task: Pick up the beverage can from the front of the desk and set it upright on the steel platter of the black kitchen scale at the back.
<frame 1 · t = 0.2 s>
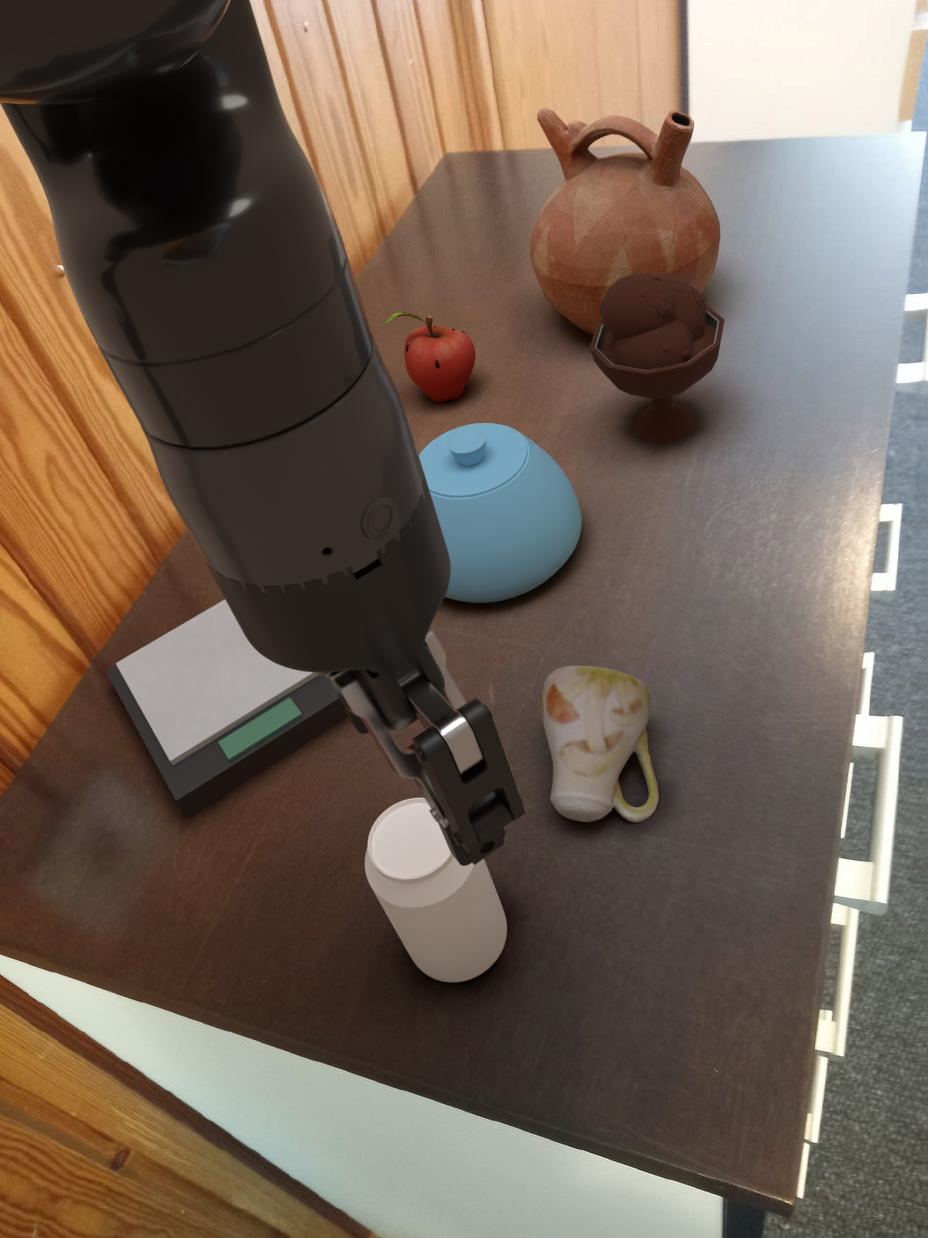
hand: (426, 780, 44), 22 cm above the table, tool pointing down, fingers open, 8 cm apart
ice cream bowl: (664, 427, 92), on the table
apple: (446, 396, 102), on the table
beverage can: (460, 940, 63), on the table
sugar bowl: (495, 550, 86), on the table
scale: (237, 697, 80), on the table
jug: (630, 312, 106), on the table
mug: (600, 772, 69), on the table
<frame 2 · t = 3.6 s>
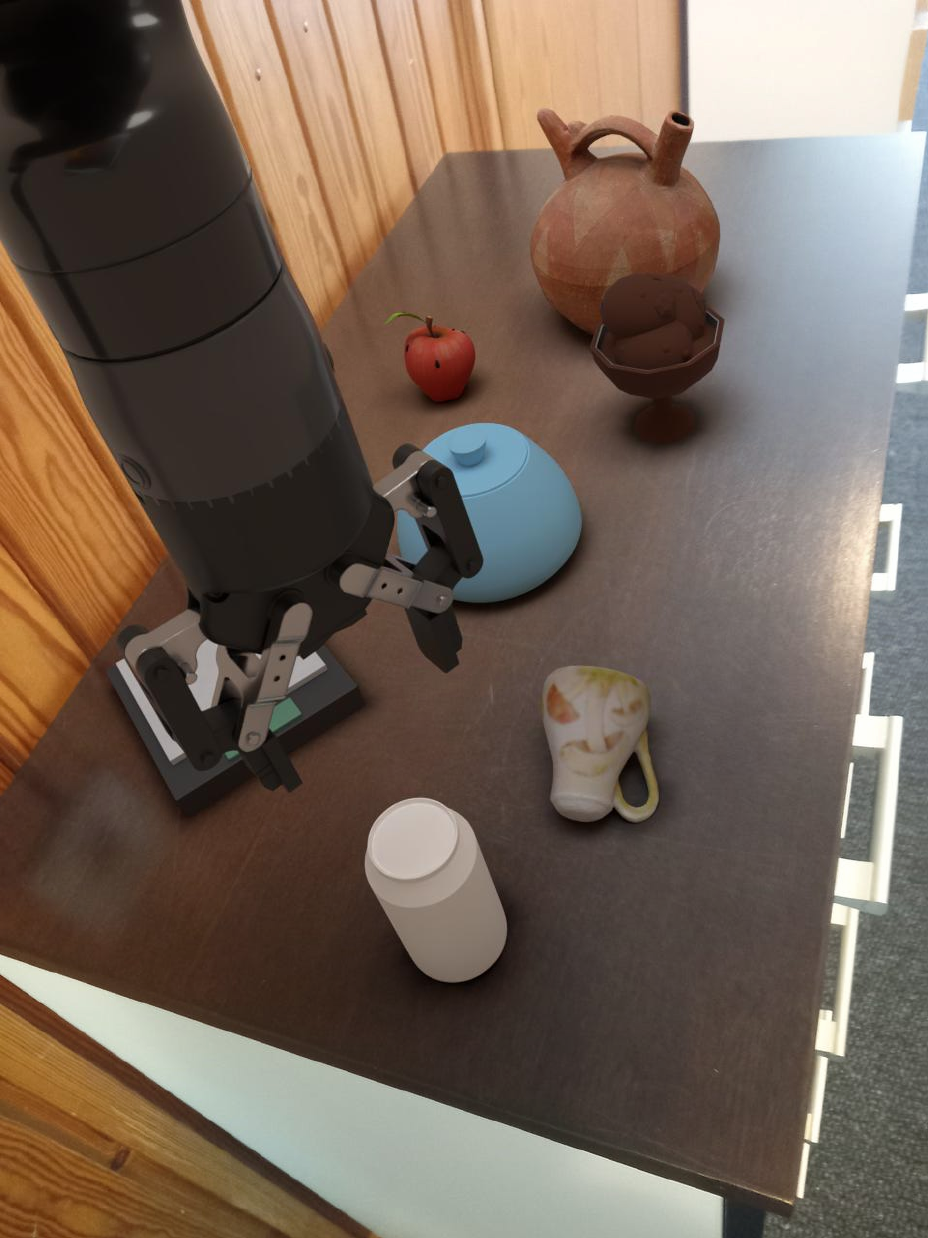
hand: (365, 717, 45), 24 cm above the table, tool pointing down, fingers open, 8 cm apart
nothing on the table moved.
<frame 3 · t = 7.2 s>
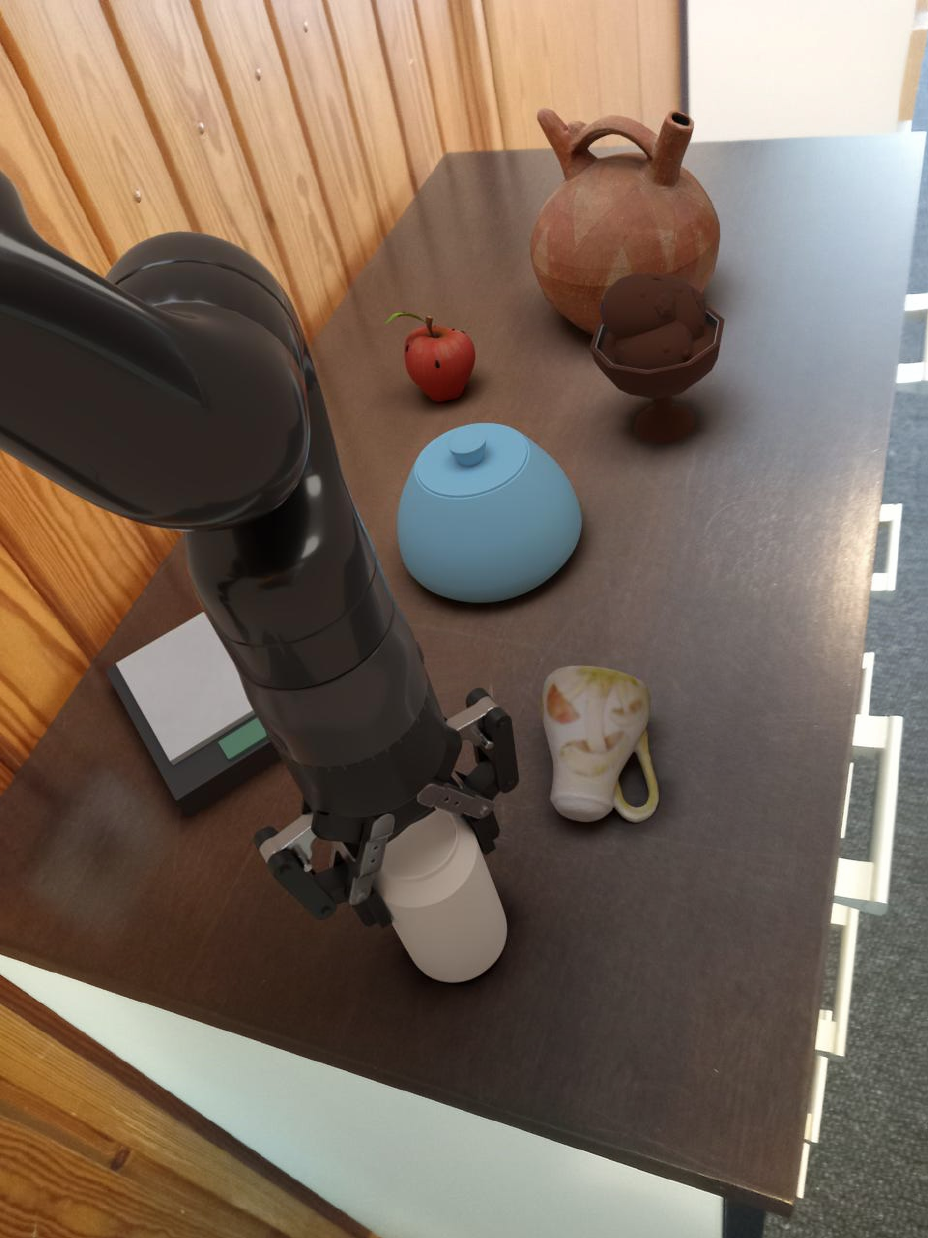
hand: (430, 877, 57), 8 cm above the table, tool pointing down, fingers closed on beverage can, 6 cm apart
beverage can: (460, 940, 63), on the table, touching gripper
everything else where it was.
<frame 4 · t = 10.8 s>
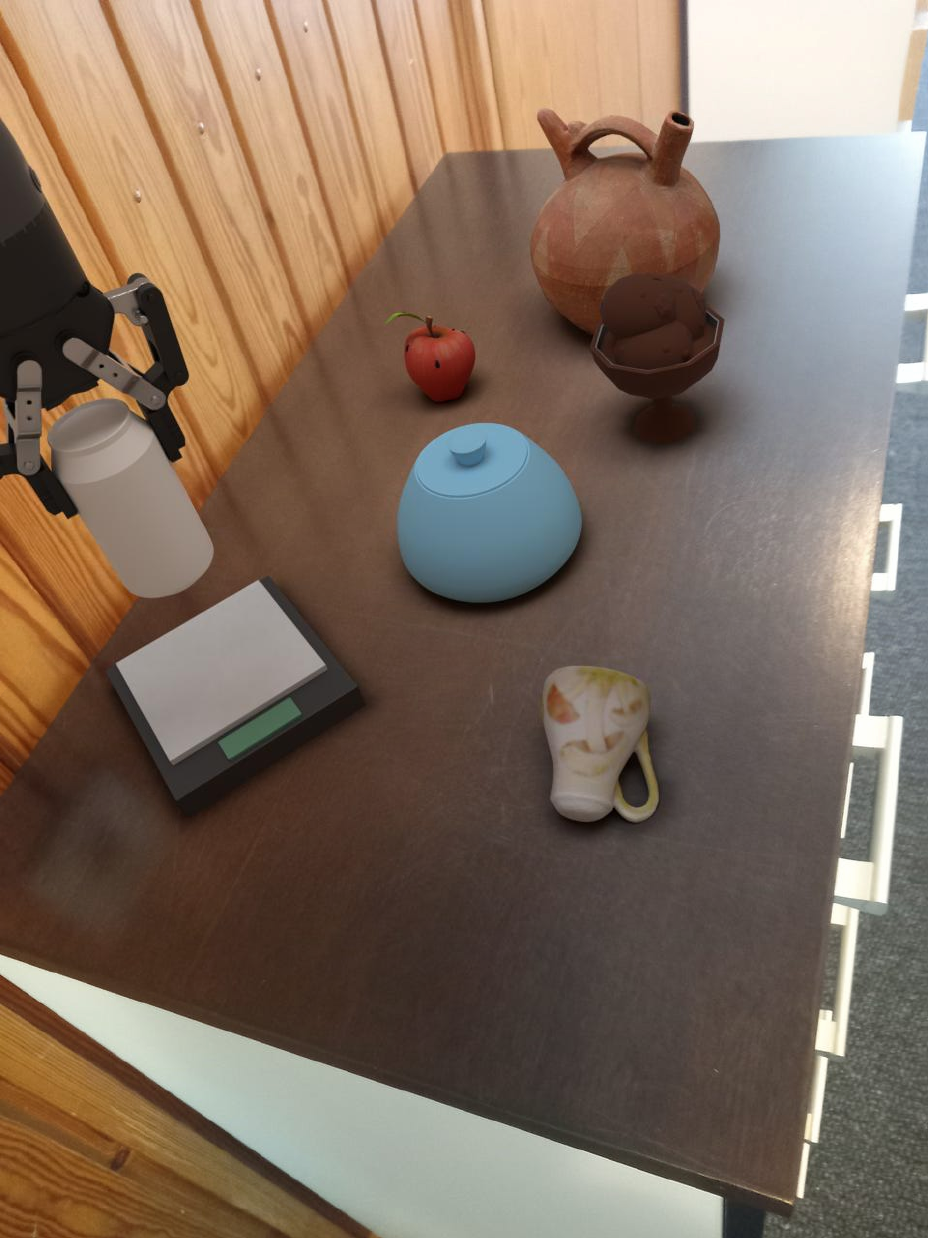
hand: (121, 482, 62), 24 cm above the table, tool pointing down, fingers closed on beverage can, 6 cm apart
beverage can: (174, 574, 67), point 16 cm above the table, touching gripper
everything else where it was.
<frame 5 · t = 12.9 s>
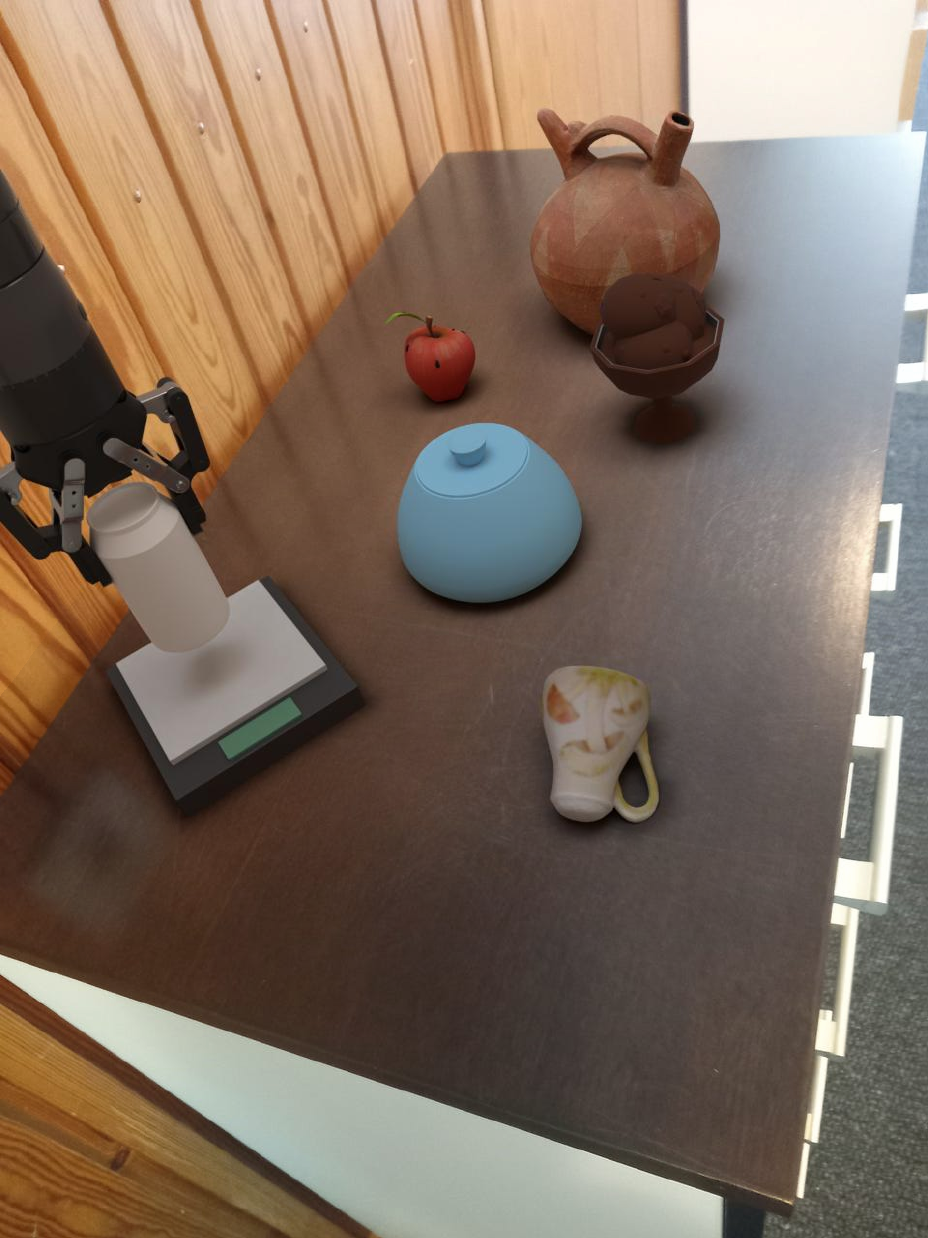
hand: (149, 553, 70), 15 cm above the table, tool pointing down, fingers closed on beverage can, 6 cm apart
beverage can: (195, 629, 76), point 7 cm above the table, touching gripper
everything else where it was.
when the fingers open (11 cm above the table, at t = 14.6 s): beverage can stays where it is, resting on scale.
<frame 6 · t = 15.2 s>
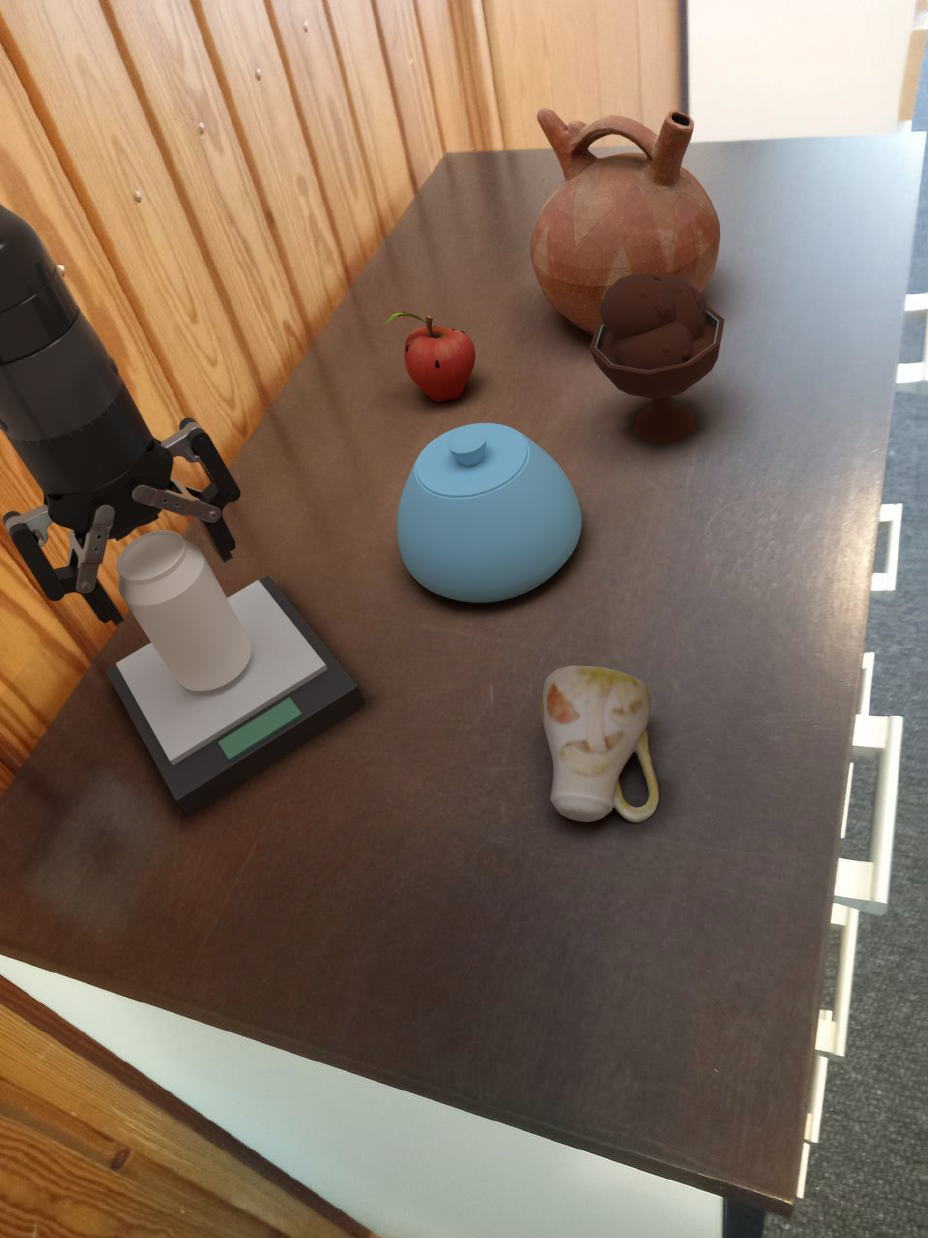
hand: (171, 586, 73), 12 cm above the table, tool pointing down, fingers open, 8 cm apart
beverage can: (217, 667, 79), point 3 cm above the table, touching scale
everything else where it was.
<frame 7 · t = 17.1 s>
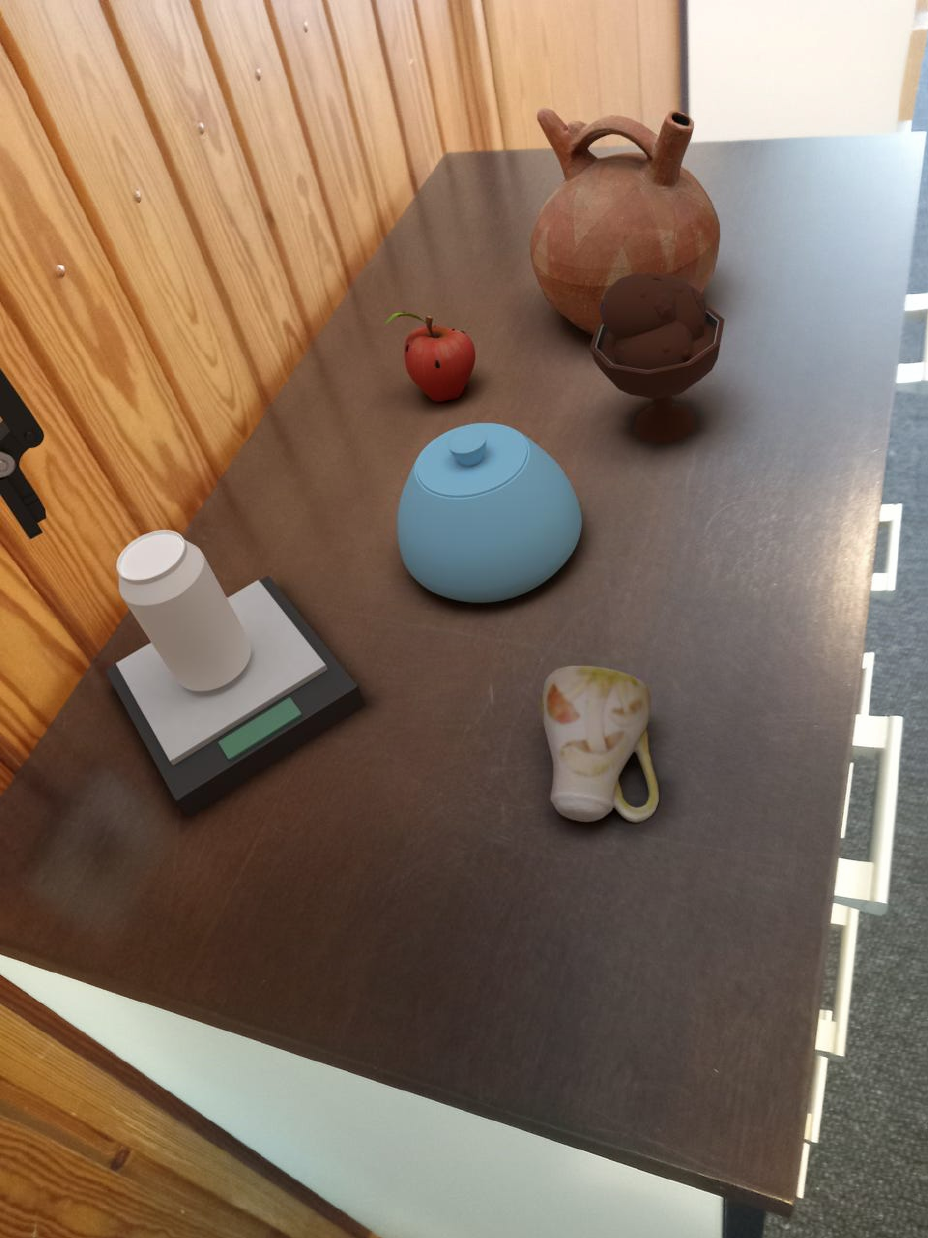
nothing on the table moved.
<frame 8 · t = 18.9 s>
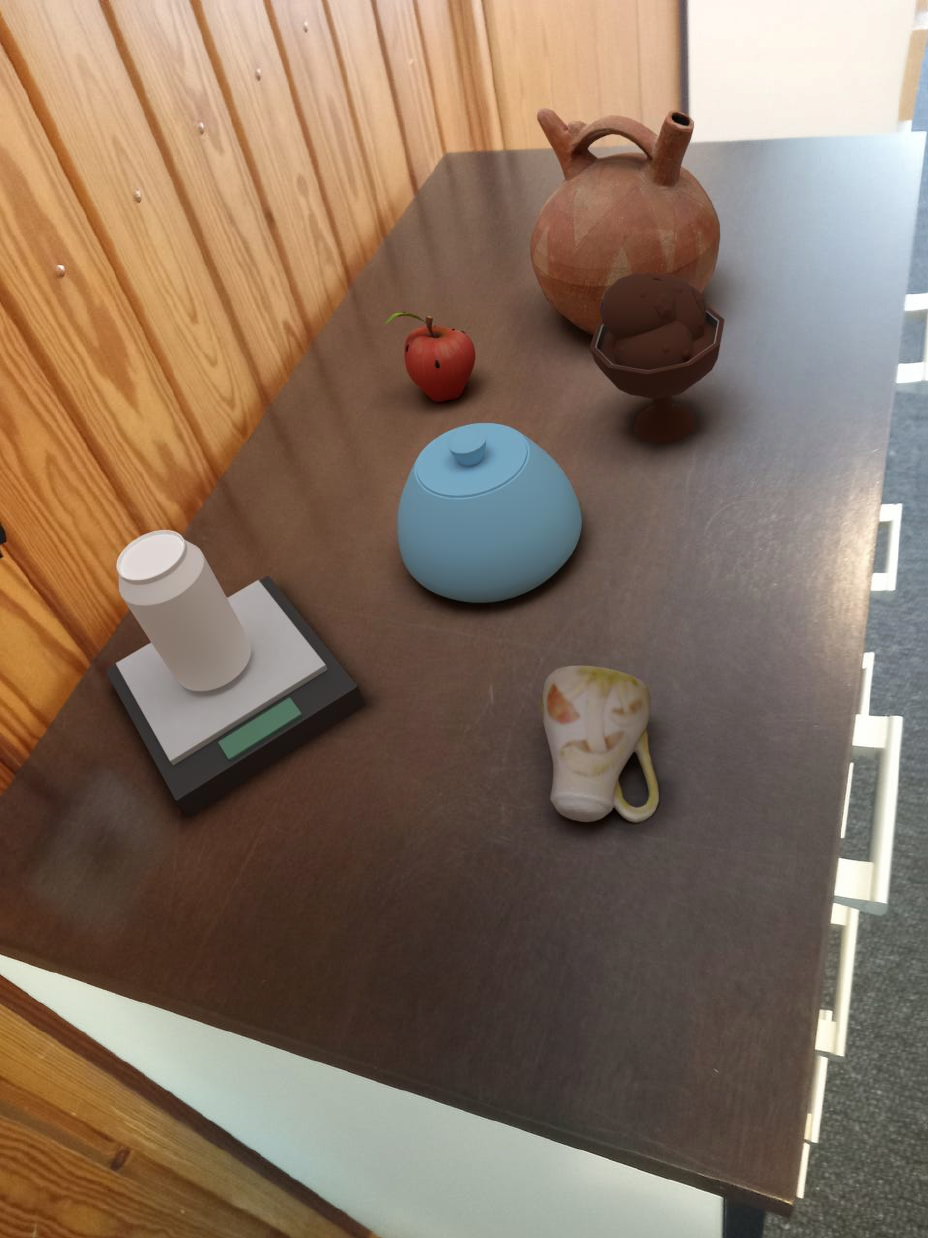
nothing on the table moved.
at the end: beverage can inside the target area on the scale (0.3 cm from its centre), point 2.8 cm above the scale's base; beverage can tilted 0°; the gripper is holding nothing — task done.
